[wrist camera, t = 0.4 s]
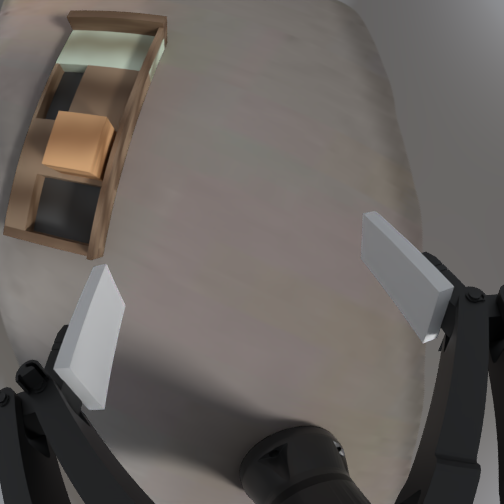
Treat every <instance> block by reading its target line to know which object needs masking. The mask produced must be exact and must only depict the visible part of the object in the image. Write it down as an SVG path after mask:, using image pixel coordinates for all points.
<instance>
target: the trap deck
mask: <svg viewBox="0 0 504 504" xmlns="http://www.w3.org/2000/svg"><path fill="white" fill-rule="evenodd" d="M67 18H68V21H69V23H70V25H71V27H72V29H73V31H72V33H71V35H70V37H69V38H68V40H67V42H66V44H65V46H64V48H63V50H62V52H61V54H60V56H59V58H58V60H57V62H56V64H55V66H54V68H53V70H52V72H51V74H50V76H49V79H48V81H47V83H46V85H45V88H44V90H43V92H42V95H41V97H40V100H39V102H38V105H37V107H36V110H35V113H34V115H33V118H32V121H31V124H30V127H29V129H28V132H27V135H26V139H25V142H24V145H23V148H22V151H21V155H20V158H19V162H18V166H17V169H16V173H15V177H14V181H13V185H12V190H11V194H10V199H9V204H8V209H7V214H6V220H5V226H4V232H3V235H6V236H10V237H14V238H17V239H21V240H25V241H29V242H33V243H36V244H40V245H44V246H48V247H52V248H56V249H60V250H64V251H68V252H72V253H76V254H81V255H85V256H87V259H88V260H93V259H96V258H100V257H103V253H104V248H105V242H106V237H107V232H108V227H109V222H110V218H111V213H112V209H113V204H114V200H115V196H116V192H117V188H118V184H119V180H120V176H121V172H122V169H123V165H124V162H125V158H126V155H127V151H128V148H129V144H130V141H131V138H132V135H133V132H134V129H135V125H136V122H137V119H138V116H139V113H140V111H141V108H142V105H143V102H144V99H145V97H146V94H147V91H148V88H149V86H150V83H151V81H152V78H153V75H154V73H155V70H156V68H157V66H158V63H159V61H160V58H161V56H162V54H163V51H164V49H165V47H166V44H167V16H159V15H151V14H142V13H131V12H116V11H70V13H69V14H68V16H67ZM59 111H66V112H75V113H83V114H91V115H98V116H105V117H107V118H108V120H109V121H110V123H111V124H112V126H113V127H114V129H115V131H116V132H117V134H116V137H115V140H114V143H113V147H112V150H111V153H110V157H109V160H108V164H107V167H106V171H105V175H104V178H103V181H100V180H95V179H89V178H84V177H79V176H73V175H68V174H63V173H60V172H58V171H55V170H53V169H51V168H49V167H47V166H45V165H43V164H42V161H43V157H44V154H45V150H46V147H47V144H48V141H49V138H50V135H51V132H52V129H53V126H54V123H55V120H56V117H57V115H58V112H59Z"/></svg>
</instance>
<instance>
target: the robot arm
mask: <svg viewBox="0 0 504 504" xmlns="http://www.w3.org/2000/svg"><path fill="white" fill-rule="evenodd" d="M361 259H362V261H363V262H364V263H365V264H366V266H367V267H368V268H369V270H370V271H371V272H372V273H373V275H374V276H375V277H376V279H377V280H378V281H379V283H380V284H381V285H382V287H383V288H384V289H385V291H386V292H387V293H388V295H389V296H390V297H391V299H392V300H393V302H394V303H395V304H396V306H397V307H398V308H399V310H400V311H401V313H402V314H403V315H404V317H405V318H406V320H407V321H408V322H409V324H410V325H411V327H412V328H413V329H414V331H415V332H416V334H417V335H418V337H419V338H420V340H421V341H422V343H425V342H428V341H430V340H432V339H435V338H437V336H438V334H439V331H440V328H442V329H443V331H444V332H445V336H444V338H443V341H442V343H441V346H440V348H439V351H441V357H440V363H439V368H438V373H437V378H436V383H435V388H434V392H433V397H432V401H431V405H430V409H429V413H428V417H427V421H426V424H425V428H424V431H423V435H422V438H421V441H420V445H419V448H418V451H417V454H416V457H415V460H414V463H413V466H412V468H411V471H410V474H409V477H408V479H407V481H406V483H405V485H404V487H403V488H402V490H401V491H400V493H399V495H398V497H397V499H396V502H395V504H473V501H474V497H475V494H476V490H477V486H478V482H479V478H480V473H481V468H480V465H479V464H478V463H477V460H476V459H477V453H478V448H479V443H480V437H481V432H482V425H483V418H484V410H485V402H486V392H487V379H488V372H489V377H490V383H491V389H492V395H493V402H494V410H495V418H496V429H497V441H498V460H499V461H498V462H499V496H500V504H504V285H503V286H501V288H500V290H499V293H498V294H496V295H485V293H483V291H481V290H480V289H478V288H475V287H465V286H464V285H463V284H462V283H461V282H460V281H459V280H458V279H457V277H456V276H455V275H453V274H452V272H450V270H447V267H446V266H444V265H442V263H441V262H440V261H439V260H438V259H437V258H436V257H435V256H433V255H431V254H429V253H427V252H423V253H421V252H420V251H418V250H417V249H416V248H415V247H414V246H413V245H412V244H411V243H410V242H409V241H408V240H407V239H406V238H405V237H404V236H403V235H402V234H401V233H399V232H398V231H397V230H396V229H395V228H394V227H393V226H392V225H391V224H390V223H389V222H387V221H386V220H385V219H384V218H383V217H382V216H381V215H380V214H378V213H377V212H376V211H373V212H367V213H363V223H362V245H361ZM124 309H125V304H124V301H123V299H122V297H121V295H120V293H119V291H118V289H117V286H116V284H115V282H114V280H113V278H112V275H111V273H110V271H109V268H108V266H107V264H103V265H99V266H94V267H93V269H92V271H91V274H90V276H89V278H88V280H87V282H86V285H85V287H84V289H83V292H82V294H81V296H80V299H79V301H78V303H77V306H76V308H75V311H74V313H73V316H72V318H71V321H70V323H69V325H64V326H63V327H62V329H61V330H60V331H59V332H58V334H57V336H56V339H55V341H54V344H53V347H52V351H51V352H50V355H49V357H48V360H47V363H46V366H45V369H44V368H43V367H42V366H41V364H40V363H39V362H38V361H36V360H30V361H27V362H25V363H24V364H23V365H22V366H21V367H20V368H19V370H18V371H17V373H16V382H17V383H18V384H19V385H20V387H21V388H22V389H23V390H24V392H21V393H18V394H16V393H15V392H14V391H13V390H12V389H11V388H8V387H6V388H3V389H2V390H0V483H1V489H2V494H3V499H4V504H71V502H70V500H69V497H68V494H67V491H66V488H65V485H64V482H63V478H62V475H61V472H60V468H59V465H58V461H57V458H58V460H59V462H60V463H61V465H62V467H63V469H64V471H65V472H66V474H67V476H68V477H69V479H70V481H71V482H72V484H73V486H74V487H75V489H76V490H77V492H78V494H79V495H80V497H81V498H82V500H83V501H84V503H85V504H155V503H154V502H153V501H152V500H151V499H150V498H149V497H148V495H147V494H146V493H145V492H144V491H143V490H142V489H141V488H140V487H139V485H138V484H137V483H136V482H135V481H134V480H133V479H132V477H131V476H130V475H129V474H128V473H127V471H126V470H125V469H124V468H123V466H122V465H121V464H120V463H119V461H118V460H117V459H116V458H115V456H114V455H113V454H112V452H111V451H110V450H109V448H108V447H107V446H106V444H105V443H104V442H103V440H102V439H101V438H100V436H99V435H98V433H97V432H96V430H95V429H94V428H93V426H92V425H91V423H90V422H89V420H88V419H87V417H86V416H85V414H84V413H83V412H82V411H81V405H82V403H83V404H84V405H85V406H86V407H87V408H88V409H89V410H105V403H106V397H107V391H108V385H109V379H110V374H111V369H112V363H113V358H114V353H115V349H116V344H117V339H118V335H119V330H120V326H121V322H122V317H123V313H124ZM56 456H57V458H56ZM240 479H241V483H242V486H243V489H244V491H245V492H246V494H247V495H248V496H249V498H251V499H252V500H253V501H254V503H255V504H371V503H370V502H369V500H368V499H367V498H366V497H365V496H364V494H363V493H362V492H361V491H360V489H359V488H358V487H357V486H356V485H355V483H354V482H353V481H352V479H351V478H350V476H349V471H348V467H347V462H346V458H345V453H344V450H343V448H342V446H341V444H340V443H339V442H338V440H337V439H336V438H335V437H334V436H333V435H332V434H331V433H330V432H328V431H327V430H324V429H322V428H318V427H311V426H303V427H295V428H290V429H286V430H283V431H280V432H278V433H275V434H273V435H271V436H269V437H267V438H266V439H264V440H262V441H261V442H260V443H258V444H257V445H256V446H254V447H253V448H252V449H251V450H250V451H249V453H248V454H247V455H246V456H245V458H244V460H243V462H242V464H241V467H240Z"/></svg>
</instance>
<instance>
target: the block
mask: <svg viewBox="0 0 504 504" xmlns="http://www.w3.org/2000/svg"><path fill="white" fill-rule="evenodd" d="M116 134H117V132H116V131H115V129H114V127H113V126H112V124H111V123H110V121H109V120H108V118H107V117H105V116H98V115H91V114H83V113H75V112H66V111H59V112H58V115H57V117H56V120H55V123H54V126H53V129H52V132H51V135H50V138H49V141H48V144H47V147H46V150H45V154H44V157H43V161H42V164H43V165H45V166H47V167H49V168H51V169H53V170H55V171H58V172H60V173H63V174H68V175H73V176H79V177H84V178H89V179H95V180H100V181H103V178H104V175H105V171H106V167H107V164H108V160H109V157H110V153H111V150H112V147H113V143H114V140H115V137H116Z"/></svg>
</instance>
